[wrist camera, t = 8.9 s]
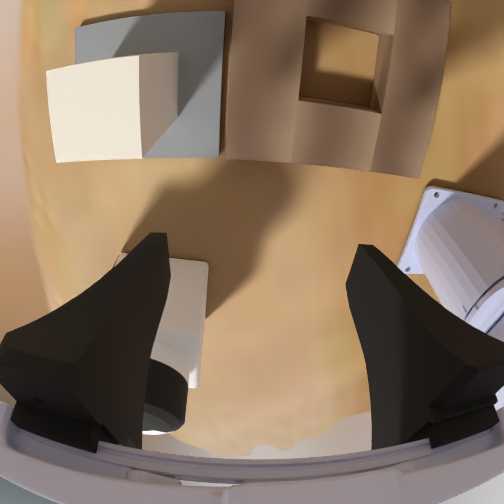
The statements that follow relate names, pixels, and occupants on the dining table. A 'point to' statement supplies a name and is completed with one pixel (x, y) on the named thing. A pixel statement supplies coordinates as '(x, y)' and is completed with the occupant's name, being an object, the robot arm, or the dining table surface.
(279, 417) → the dining table surface
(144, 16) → the mat
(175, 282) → the white bottle
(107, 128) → the peg
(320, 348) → the dining table surface
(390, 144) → the pocket block
